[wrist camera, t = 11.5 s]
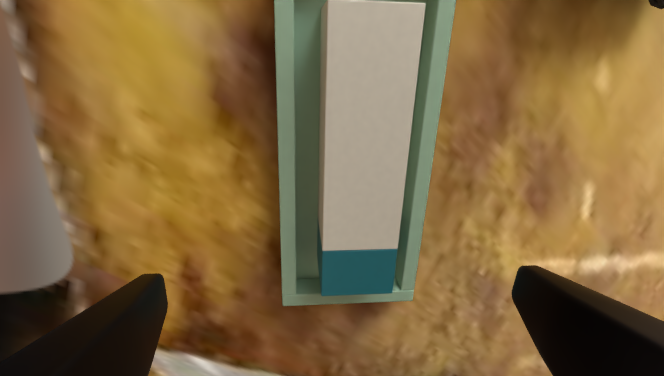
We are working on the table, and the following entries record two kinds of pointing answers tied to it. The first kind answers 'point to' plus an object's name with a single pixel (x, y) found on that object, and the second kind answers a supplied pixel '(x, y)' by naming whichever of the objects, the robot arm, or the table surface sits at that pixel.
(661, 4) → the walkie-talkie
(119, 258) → the table surface
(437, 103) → the pen tray
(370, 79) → the beige and teal block
